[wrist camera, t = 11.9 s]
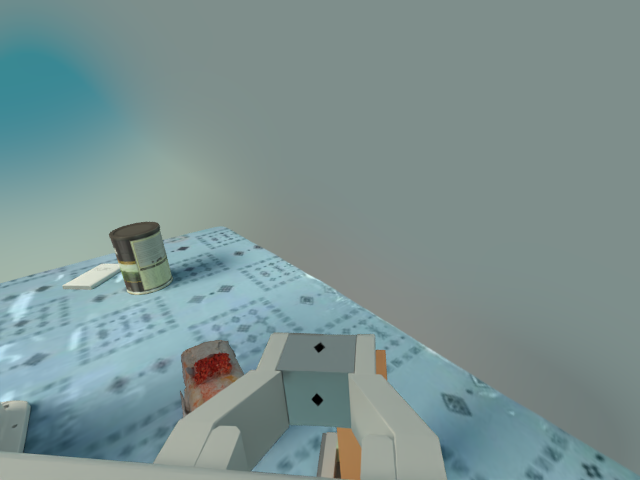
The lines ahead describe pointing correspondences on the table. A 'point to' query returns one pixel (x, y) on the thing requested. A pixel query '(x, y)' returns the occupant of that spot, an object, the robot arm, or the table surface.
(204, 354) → the food item
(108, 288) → the table surface
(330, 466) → the grey flat rectangular frame
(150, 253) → the coffee can
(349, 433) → the lever
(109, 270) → the external hard drive
